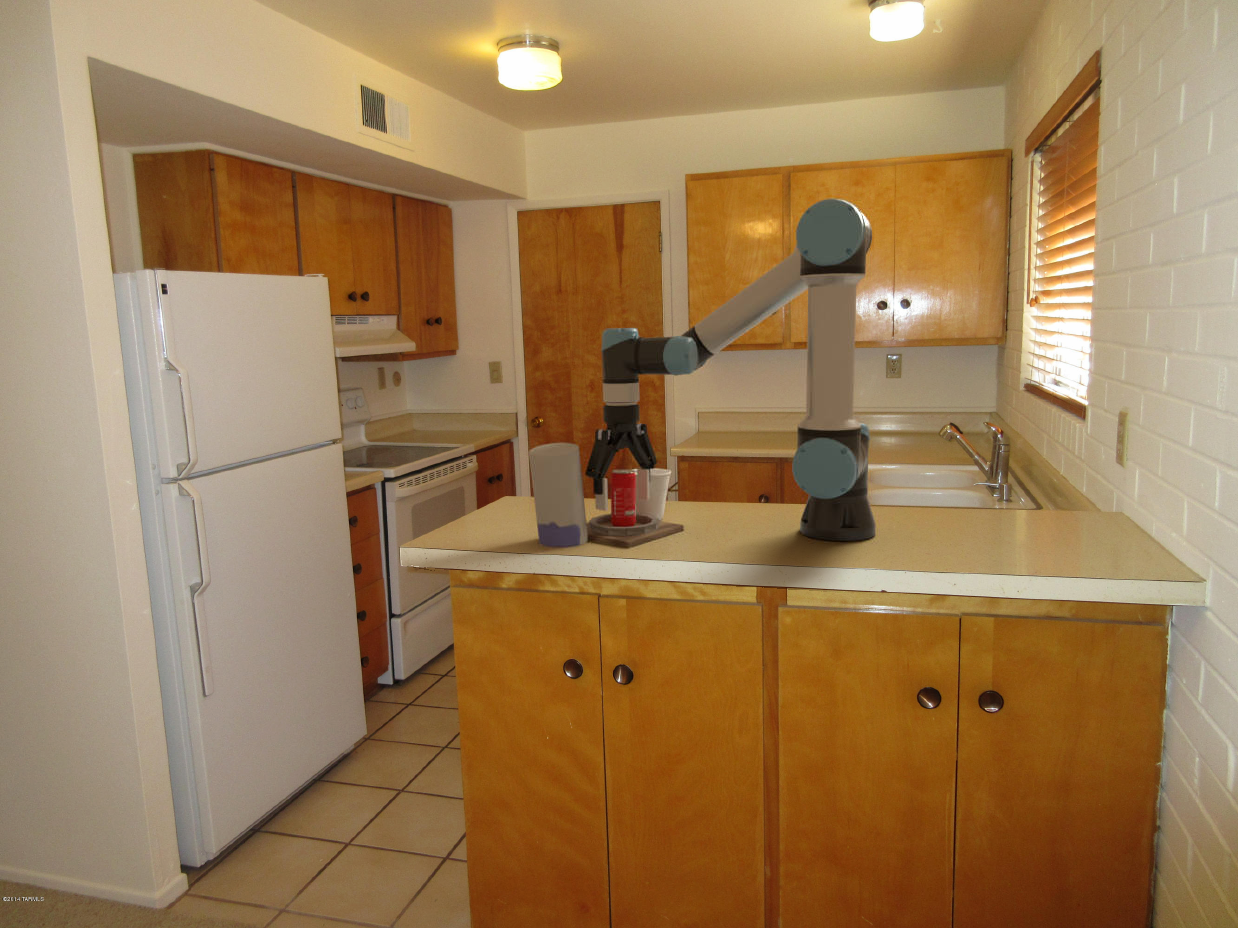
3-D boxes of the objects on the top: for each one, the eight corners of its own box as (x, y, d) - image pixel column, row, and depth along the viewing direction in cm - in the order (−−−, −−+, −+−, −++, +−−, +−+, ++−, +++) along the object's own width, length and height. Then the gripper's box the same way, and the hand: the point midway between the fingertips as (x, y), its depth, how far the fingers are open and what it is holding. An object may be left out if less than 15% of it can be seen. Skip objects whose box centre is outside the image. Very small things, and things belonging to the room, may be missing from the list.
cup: (672, 524, 187) (672, 474, 186) (627, 524, 187) (626, 475, 186) (670, 514, 197) (670, 467, 195) (627, 515, 197) (627, 468, 196)
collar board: (683, 530, 181) (683, 518, 181) (628, 548, 168) (628, 534, 168) (619, 519, 193) (619, 507, 193) (563, 535, 180) (563, 522, 179)
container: (594, 533, 178) (585, 441, 173) (579, 551, 169) (569, 455, 164) (549, 533, 181) (538, 442, 176) (532, 550, 172) (521, 455, 166)
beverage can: (615, 530, 177) (614, 473, 175) (608, 525, 182) (608, 469, 180) (638, 528, 179) (638, 472, 177) (631, 523, 183) (631, 468, 182)
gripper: (645, 398, 188) (646, 492, 191) (566, 407, 169) (569, 512, 173) (672, 399, 183) (673, 496, 186) (593, 409, 164) (596, 516, 168)
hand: (623, 504), depth 180 cm, fingers open, 13 cm apart
